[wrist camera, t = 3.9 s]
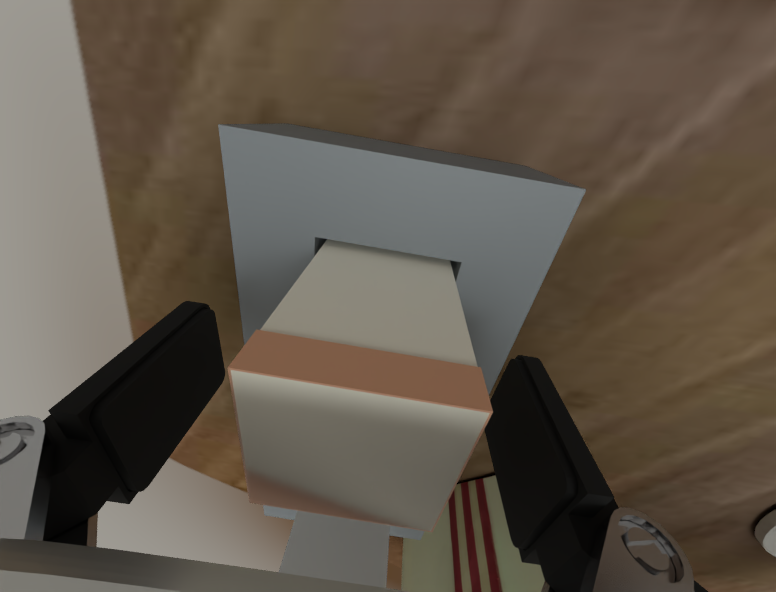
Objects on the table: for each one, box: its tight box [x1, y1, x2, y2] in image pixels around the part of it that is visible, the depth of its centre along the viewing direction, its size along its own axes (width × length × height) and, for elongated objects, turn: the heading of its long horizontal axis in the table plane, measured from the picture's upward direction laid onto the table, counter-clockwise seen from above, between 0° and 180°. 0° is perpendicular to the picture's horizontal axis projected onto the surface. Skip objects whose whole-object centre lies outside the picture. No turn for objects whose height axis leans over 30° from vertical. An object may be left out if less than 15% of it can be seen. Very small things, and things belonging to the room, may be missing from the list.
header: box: [218, 124, 586, 588], centre depth 16 cm, size 26×12×13 cm, turn 171°
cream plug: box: [228, 239, 493, 532], centre depth 12 cm, size 5×5×12 cm
